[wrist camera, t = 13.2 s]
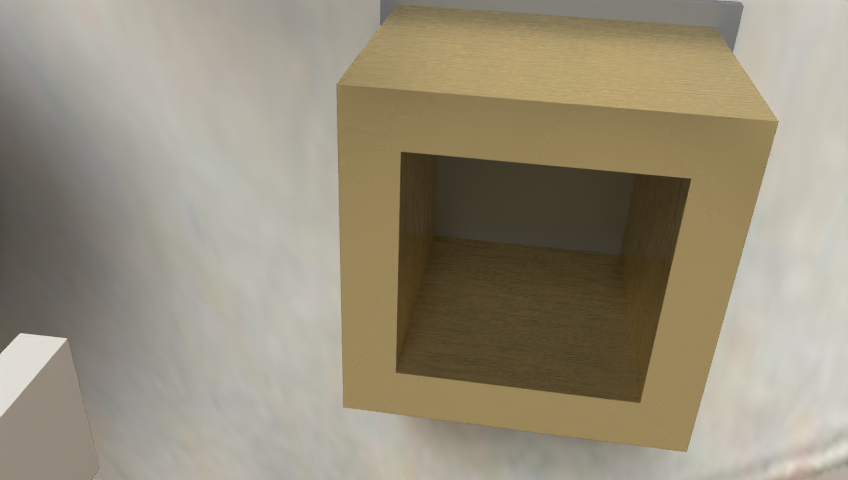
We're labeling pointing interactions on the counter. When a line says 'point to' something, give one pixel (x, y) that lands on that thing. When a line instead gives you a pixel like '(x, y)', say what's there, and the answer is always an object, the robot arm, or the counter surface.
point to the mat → (544, 184)
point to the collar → (535, 265)
